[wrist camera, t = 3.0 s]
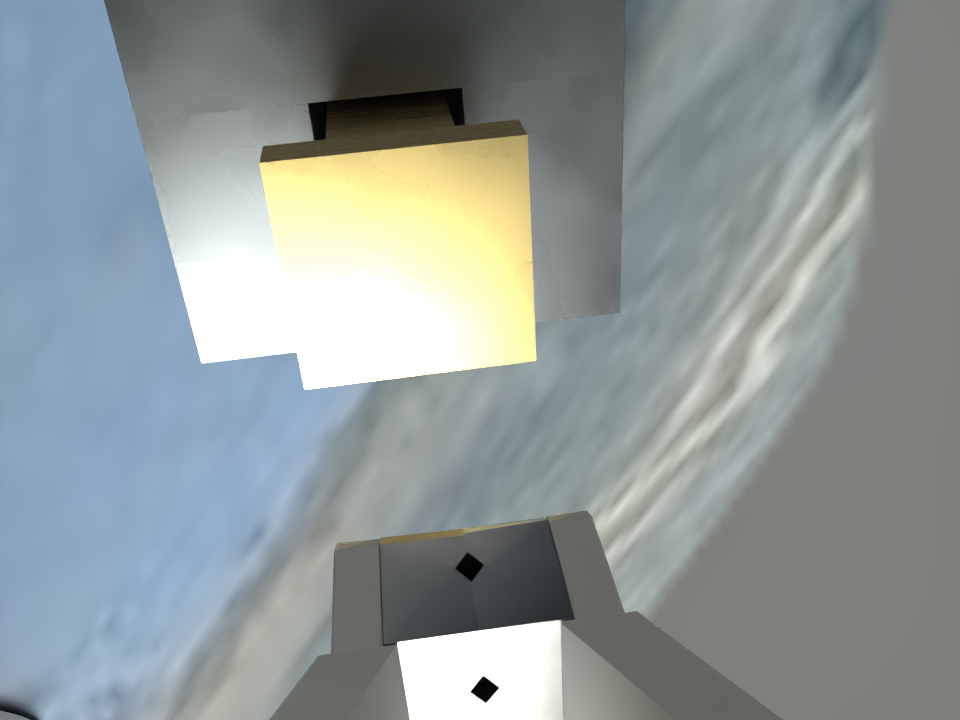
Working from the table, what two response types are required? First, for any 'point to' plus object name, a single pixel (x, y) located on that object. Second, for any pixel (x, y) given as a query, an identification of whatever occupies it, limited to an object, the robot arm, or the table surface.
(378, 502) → the table surface
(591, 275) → the socket block
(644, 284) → the table surface
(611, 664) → the robot arm
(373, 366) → the wooden tenon block
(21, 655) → the table surface
